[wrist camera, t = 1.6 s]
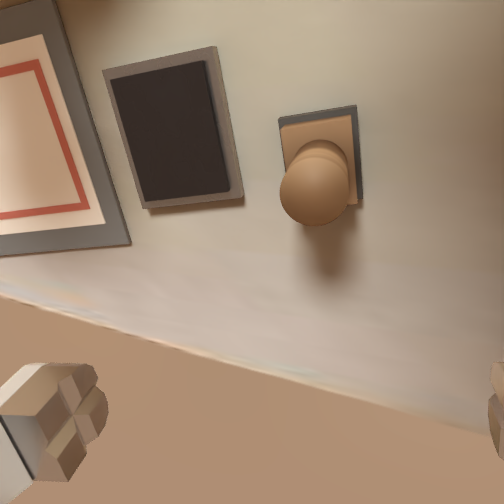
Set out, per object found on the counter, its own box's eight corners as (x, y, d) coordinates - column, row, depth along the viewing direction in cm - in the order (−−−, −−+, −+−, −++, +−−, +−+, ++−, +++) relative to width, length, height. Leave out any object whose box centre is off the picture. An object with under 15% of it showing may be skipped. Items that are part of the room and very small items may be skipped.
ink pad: (109, 70, 28) (97, 70, 27) (216, 46, 26) (209, 45, 25) (148, 205, 32) (139, 211, 31) (244, 193, 30) (239, 200, 29)
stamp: (280, 117, 27) (254, 140, 19) (356, 104, 26) (361, 124, 18) (292, 201, 30) (273, 252, 22) (362, 193, 28) (369, 245, 21)
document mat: (-111, 43, 31) (-119, 42, 30) (53, -4, 27) (47, -5, 27) (-11, 255, 38) (-16, 257, 37) (131, 241, 34) (128, 244, 34)
